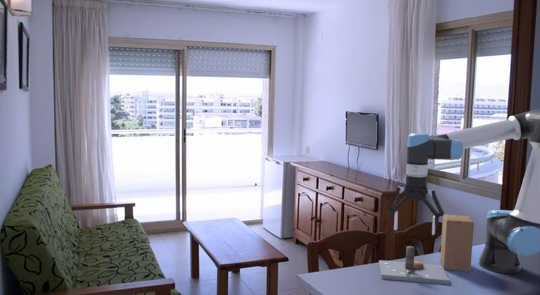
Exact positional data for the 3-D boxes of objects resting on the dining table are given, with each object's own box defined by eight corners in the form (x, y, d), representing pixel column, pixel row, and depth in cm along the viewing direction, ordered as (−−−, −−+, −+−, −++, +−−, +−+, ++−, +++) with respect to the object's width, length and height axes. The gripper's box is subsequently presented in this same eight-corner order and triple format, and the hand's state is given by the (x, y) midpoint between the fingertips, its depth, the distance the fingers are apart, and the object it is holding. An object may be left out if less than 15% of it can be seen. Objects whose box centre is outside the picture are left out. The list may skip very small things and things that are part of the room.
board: (441, 268, 187) (441, 264, 187) (449, 284, 172) (449, 279, 172) (378, 263, 191) (379, 259, 191) (381, 278, 176) (381, 274, 175)
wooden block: (470, 272, 184) (474, 221, 182) (443, 269, 186) (446, 220, 184) (465, 263, 194) (468, 215, 192) (439, 261, 196) (442, 213, 194)
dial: (407, 261, 190) (408, 238, 189) (425, 264, 186) (426, 241, 185) (396, 272, 177) (398, 248, 176) (415, 276, 173) (417, 252, 172)
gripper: (380, 174, 177) (378, 229, 179) (452, 179, 166) (449, 238, 169) (384, 171, 183) (382, 225, 186) (453, 176, 173) (450, 233, 175)
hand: (414, 231), depth 177 cm, fingers open, 13 cm apart
